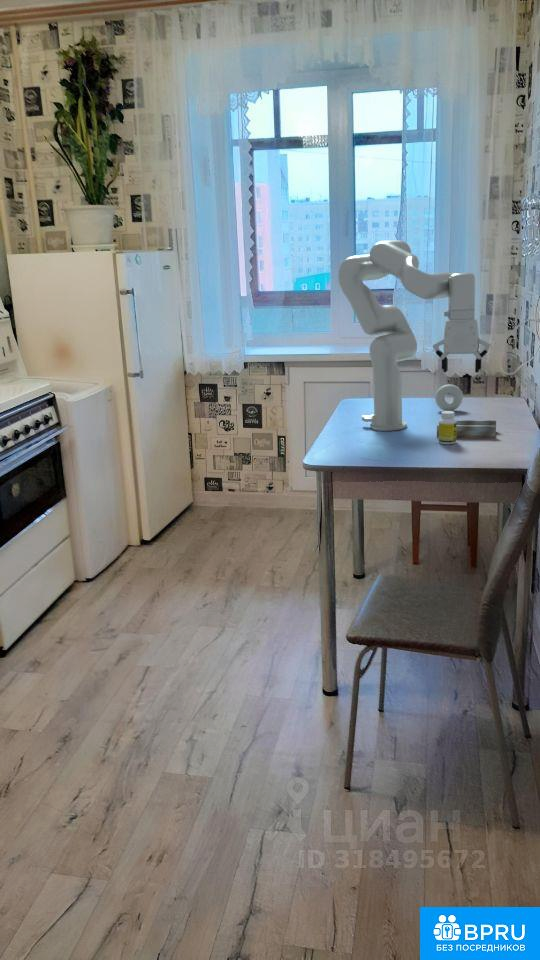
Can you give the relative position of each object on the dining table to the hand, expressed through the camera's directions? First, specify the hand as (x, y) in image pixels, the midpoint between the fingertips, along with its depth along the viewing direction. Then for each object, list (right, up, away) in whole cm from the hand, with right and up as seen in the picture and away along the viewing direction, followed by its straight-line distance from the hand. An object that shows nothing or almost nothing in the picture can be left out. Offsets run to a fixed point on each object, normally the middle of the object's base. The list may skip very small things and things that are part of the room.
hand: (461, 371), depth 237 cm
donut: (+7, -8, +49) cm, 50 cm away
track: (+5, -19, +13) cm, 23 cm away
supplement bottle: (-3, -22, +5) cm, 23 cm away
